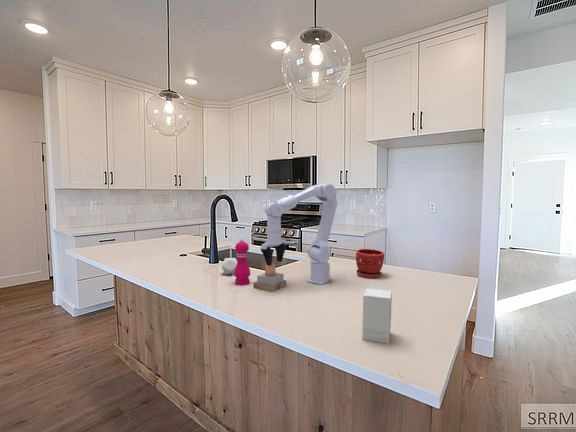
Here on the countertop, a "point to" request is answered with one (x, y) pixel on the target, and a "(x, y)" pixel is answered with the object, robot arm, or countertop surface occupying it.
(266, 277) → the tower top
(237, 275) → the pepper mill
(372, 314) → the supplement box
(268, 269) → the cylinder
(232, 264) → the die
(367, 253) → the plant pot
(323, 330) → the countertop surface
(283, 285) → the tower base
